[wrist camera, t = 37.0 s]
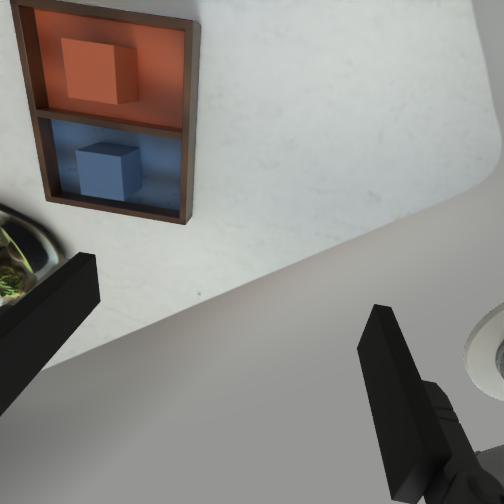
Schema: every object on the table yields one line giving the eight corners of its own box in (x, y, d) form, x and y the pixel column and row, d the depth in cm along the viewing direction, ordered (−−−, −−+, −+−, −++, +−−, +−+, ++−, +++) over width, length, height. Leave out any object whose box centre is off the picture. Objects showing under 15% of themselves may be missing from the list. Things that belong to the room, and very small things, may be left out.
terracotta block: (137, 49, 34) (113, 45, 30) (138, 101, 36) (117, 105, 32) (90, 42, 34) (60, 37, 30) (95, 94, 37) (68, 97, 32)
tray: (192, 216, 43) (185, 225, 40) (60, 194, 44) (45, 201, 41) (201, 25, 33) (193, 20, 30) (30, 0, 34) (8, -7, 31)
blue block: (140, 147, 39) (120, 156, 34) (142, 188, 41) (123, 201, 37) (99, 141, 39) (74, 149, 35) (103, 182, 41) (81, 194, 37)
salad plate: (57, 329, 56) (38, 348, 52) (-47, 282, 54) (-75, 299, 50) (83, 242, 47) (63, 257, 43) (-41, 181, 45) (-74, 191, 41)
